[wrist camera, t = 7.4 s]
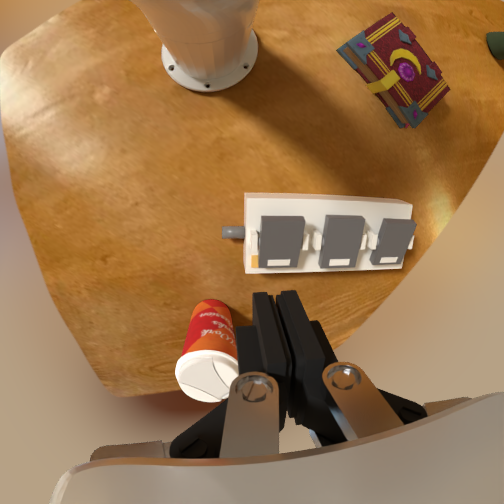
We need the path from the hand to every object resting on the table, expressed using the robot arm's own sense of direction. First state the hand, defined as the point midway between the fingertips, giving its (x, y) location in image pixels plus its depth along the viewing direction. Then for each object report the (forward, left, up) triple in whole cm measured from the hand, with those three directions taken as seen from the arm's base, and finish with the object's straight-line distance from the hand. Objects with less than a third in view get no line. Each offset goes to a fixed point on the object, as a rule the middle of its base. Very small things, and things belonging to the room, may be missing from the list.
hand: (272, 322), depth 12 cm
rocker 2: (+5, +21, -24) cm, 32 cm away
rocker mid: (+5, +13, -24) cm, 28 cm away
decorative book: (-20, +23, -30) cm, 43 cm away
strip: (+5, +11, -30) cm, 32 cm away
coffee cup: (+19, -4, -30) cm, 36 cm away
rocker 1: (+5, +5, -24) cm, 25 cm away
